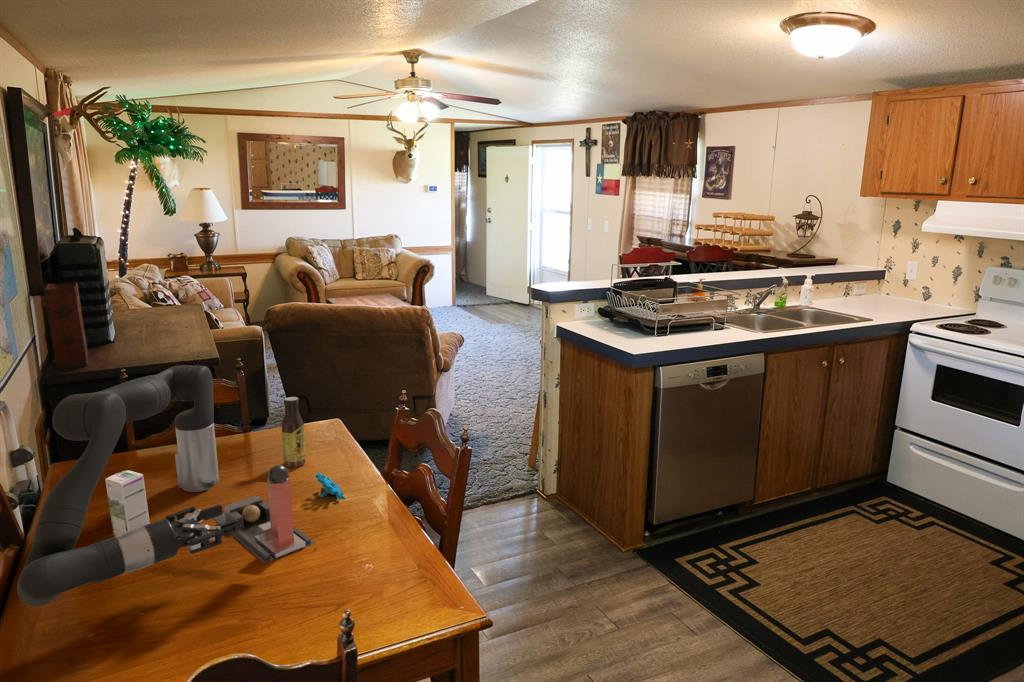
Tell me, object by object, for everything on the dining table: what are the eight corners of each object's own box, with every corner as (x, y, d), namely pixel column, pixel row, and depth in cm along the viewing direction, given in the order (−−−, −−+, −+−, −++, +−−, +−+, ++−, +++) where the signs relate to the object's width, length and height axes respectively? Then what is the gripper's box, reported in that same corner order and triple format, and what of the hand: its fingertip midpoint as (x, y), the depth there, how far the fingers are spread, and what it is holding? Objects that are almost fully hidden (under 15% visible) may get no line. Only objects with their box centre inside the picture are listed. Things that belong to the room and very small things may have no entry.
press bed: (212, 522, 162) (210, 503, 161) (260, 506, 170) (258, 488, 169) (265, 569, 143) (263, 548, 141) (316, 549, 151) (315, 528, 150)
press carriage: (254, 540, 151) (248, 461, 146) (284, 529, 156) (278, 452, 151) (275, 558, 144) (269, 475, 140) (305, 546, 149) (300, 466, 144)
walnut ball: (239, 524, 158) (238, 509, 157) (248, 516, 162) (247, 501, 161) (255, 526, 157) (253, 510, 156) (264, 518, 161) (262, 502, 160)
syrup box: (151, 530, 158) (144, 473, 155) (128, 541, 153) (120, 483, 149) (135, 524, 160) (128, 468, 157) (111, 536, 155) (103, 478, 152)
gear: (350, 500, 170) (319, 477, 167) (334, 519, 169) (303, 495, 166) (347, 488, 181) (318, 465, 178) (331, 505, 180) (302, 482, 177)
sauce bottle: (302, 468, 192) (297, 402, 188) (280, 468, 193) (275, 402, 188) (309, 459, 199) (305, 395, 194) (288, 459, 199) (283, 395, 194)
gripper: (156, 542, 122) (243, 512, 133) (130, 514, 132) (214, 488, 143) (160, 579, 124) (246, 546, 135) (135, 548, 134) (217, 520, 145)
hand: (230, 516), depth 139 cm, fingers open, 8 cm apart
